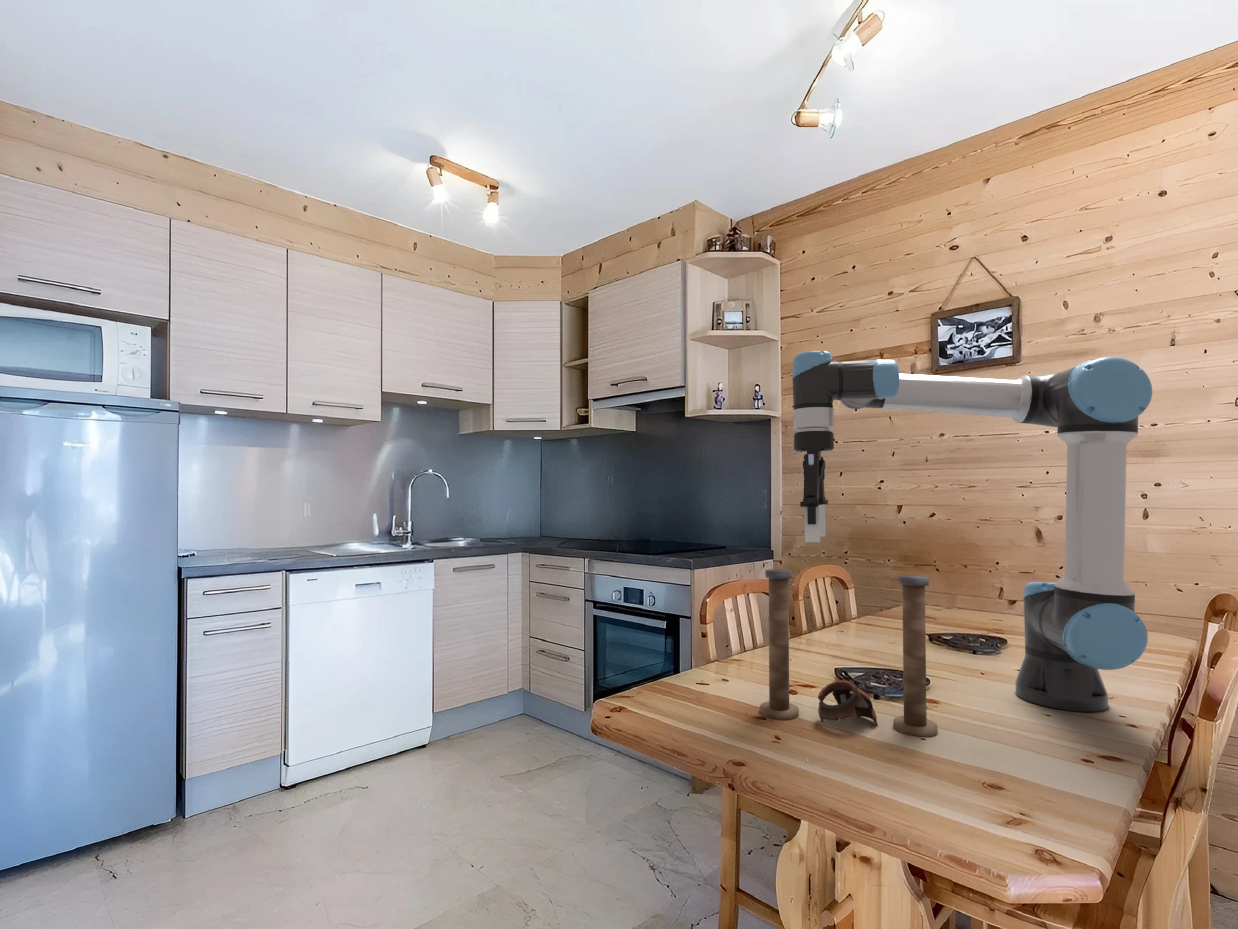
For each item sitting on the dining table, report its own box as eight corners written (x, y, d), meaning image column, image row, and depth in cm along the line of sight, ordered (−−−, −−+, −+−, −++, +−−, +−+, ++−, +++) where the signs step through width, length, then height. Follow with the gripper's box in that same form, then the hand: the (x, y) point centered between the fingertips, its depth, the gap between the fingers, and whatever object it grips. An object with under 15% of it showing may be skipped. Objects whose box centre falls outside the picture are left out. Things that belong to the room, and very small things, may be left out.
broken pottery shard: (889, 736, 110) (869, 697, 109) (837, 757, 112) (817, 718, 110) (867, 695, 122) (849, 660, 121) (821, 715, 124) (802, 680, 122)
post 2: (935, 724, 114) (933, 575, 115) (940, 739, 108) (938, 580, 108) (892, 719, 117) (890, 573, 117) (894, 733, 110) (892, 578, 111)
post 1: (800, 709, 122) (799, 569, 123) (797, 721, 115) (796, 574, 116) (762, 704, 124) (761, 567, 125) (757, 716, 118) (756, 572, 119)
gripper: (800, 436, 140) (802, 534, 140) (785, 426, 117) (788, 544, 116) (836, 434, 138) (839, 534, 137) (829, 424, 114) (832, 545, 114)
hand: (815, 539), depth 127 cm, fingers open, 13 cm apart
